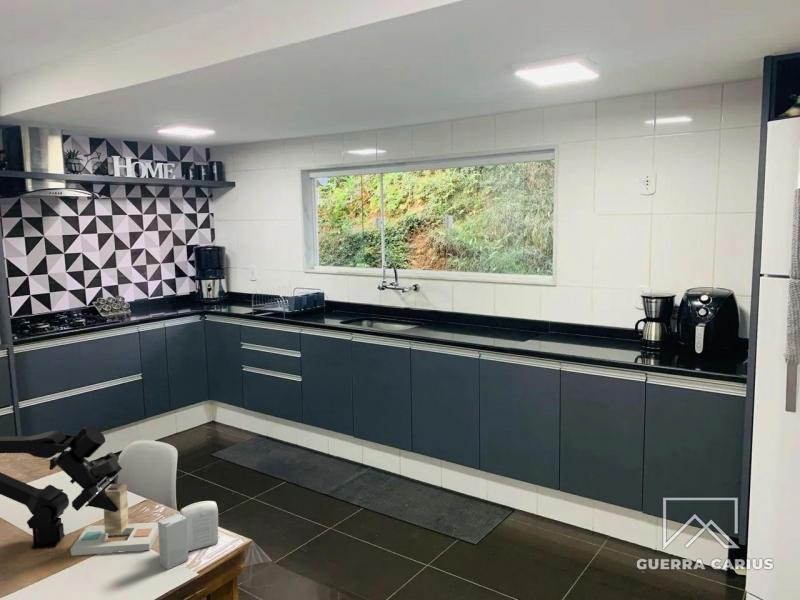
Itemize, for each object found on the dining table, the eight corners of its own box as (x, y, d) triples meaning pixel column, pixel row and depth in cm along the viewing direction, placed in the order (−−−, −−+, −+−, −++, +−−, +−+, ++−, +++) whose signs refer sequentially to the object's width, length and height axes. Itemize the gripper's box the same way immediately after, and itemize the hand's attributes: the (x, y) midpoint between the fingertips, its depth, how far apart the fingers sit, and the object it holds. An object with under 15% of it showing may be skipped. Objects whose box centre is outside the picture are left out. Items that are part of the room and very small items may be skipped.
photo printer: (216, 537, 169) (214, 495, 168) (220, 543, 166) (219, 501, 164) (178, 547, 164) (176, 504, 162) (182, 554, 160) (180, 510, 159)
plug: (104, 533, 164) (102, 489, 162) (112, 525, 168) (110, 482, 166) (121, 533, 164) (119, 489, 162) (128, 525, 168) (126, 482, 167)
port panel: (71, 555, 159) (70, 547, 159) (87, 532, 171) (87, 525, 171) (149, 550, 162) (149, 542, 162) (160, 528, 174) (160, 521, 173)
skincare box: (180, 554, 160) (178, 512, 158) (189, 560, 157) (188, 517, 156) (158, 564, 155) (156, 520, 154) (167, 571, 152) (165, 526, 151)
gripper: (81, 461, 154) (126, 502, 155) (113, 436, 172) (153, 473, 174) (52, 490, 154) (97, 531, 156) (87, 462, 173) (127, 498, 175)
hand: (120, 506), depth 165 cm, fingers closed on plug, 4 cm apart
